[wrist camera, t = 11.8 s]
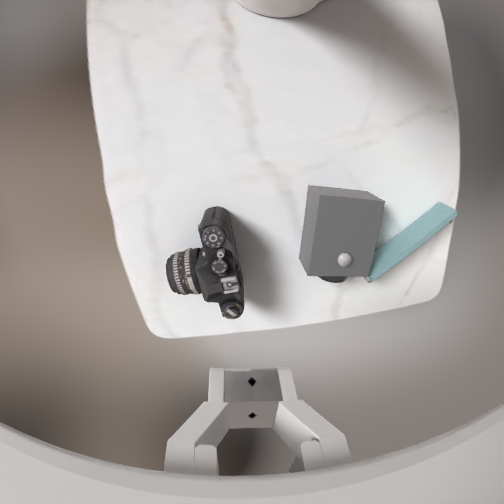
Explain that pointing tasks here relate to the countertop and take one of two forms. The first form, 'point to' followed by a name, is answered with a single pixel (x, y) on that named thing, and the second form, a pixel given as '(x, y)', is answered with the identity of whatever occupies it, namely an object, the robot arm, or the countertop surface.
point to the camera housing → (339, 232)
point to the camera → (211, 266)
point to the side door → (410, 239)
